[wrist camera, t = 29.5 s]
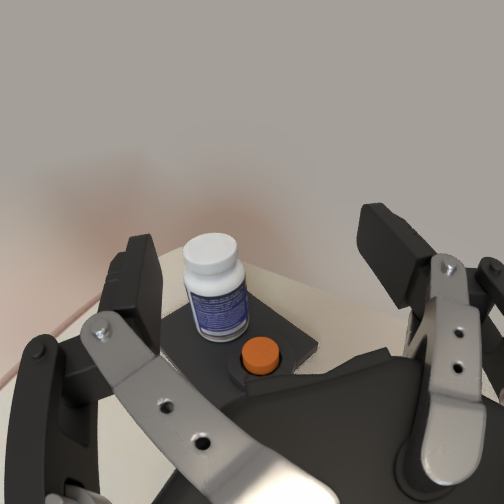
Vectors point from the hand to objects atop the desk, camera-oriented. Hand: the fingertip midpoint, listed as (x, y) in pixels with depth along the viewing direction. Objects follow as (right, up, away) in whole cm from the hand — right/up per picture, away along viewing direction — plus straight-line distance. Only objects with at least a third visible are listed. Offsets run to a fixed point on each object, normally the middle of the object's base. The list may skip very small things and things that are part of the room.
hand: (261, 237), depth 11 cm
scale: (-3, -10, +20) cm, 22 cm away
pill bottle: (-3, -8, +21) cm, 22 cm away
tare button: (0, -10, +15) cm, 18 cm away
